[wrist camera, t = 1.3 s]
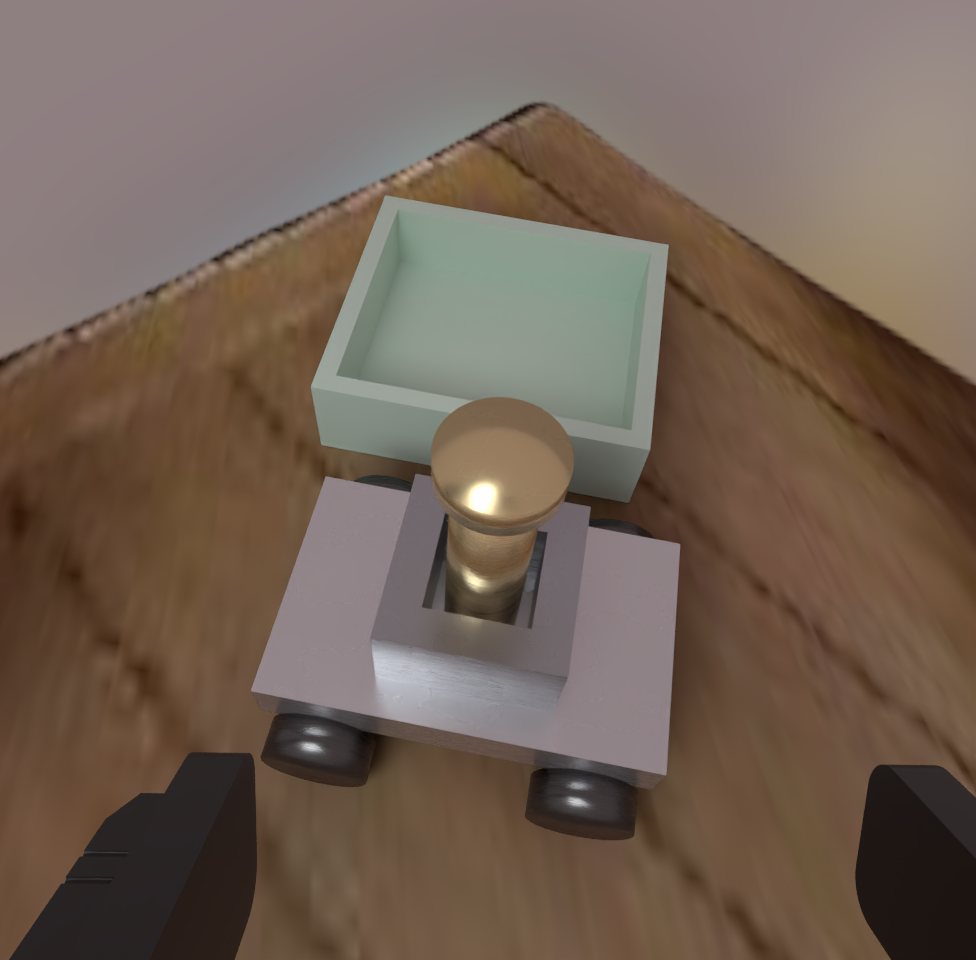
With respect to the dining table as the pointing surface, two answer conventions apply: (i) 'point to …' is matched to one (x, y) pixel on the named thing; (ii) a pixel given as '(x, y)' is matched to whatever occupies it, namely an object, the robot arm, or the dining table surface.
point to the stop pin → (496, 499)
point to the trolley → (476, 654)
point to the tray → (496, 337)
